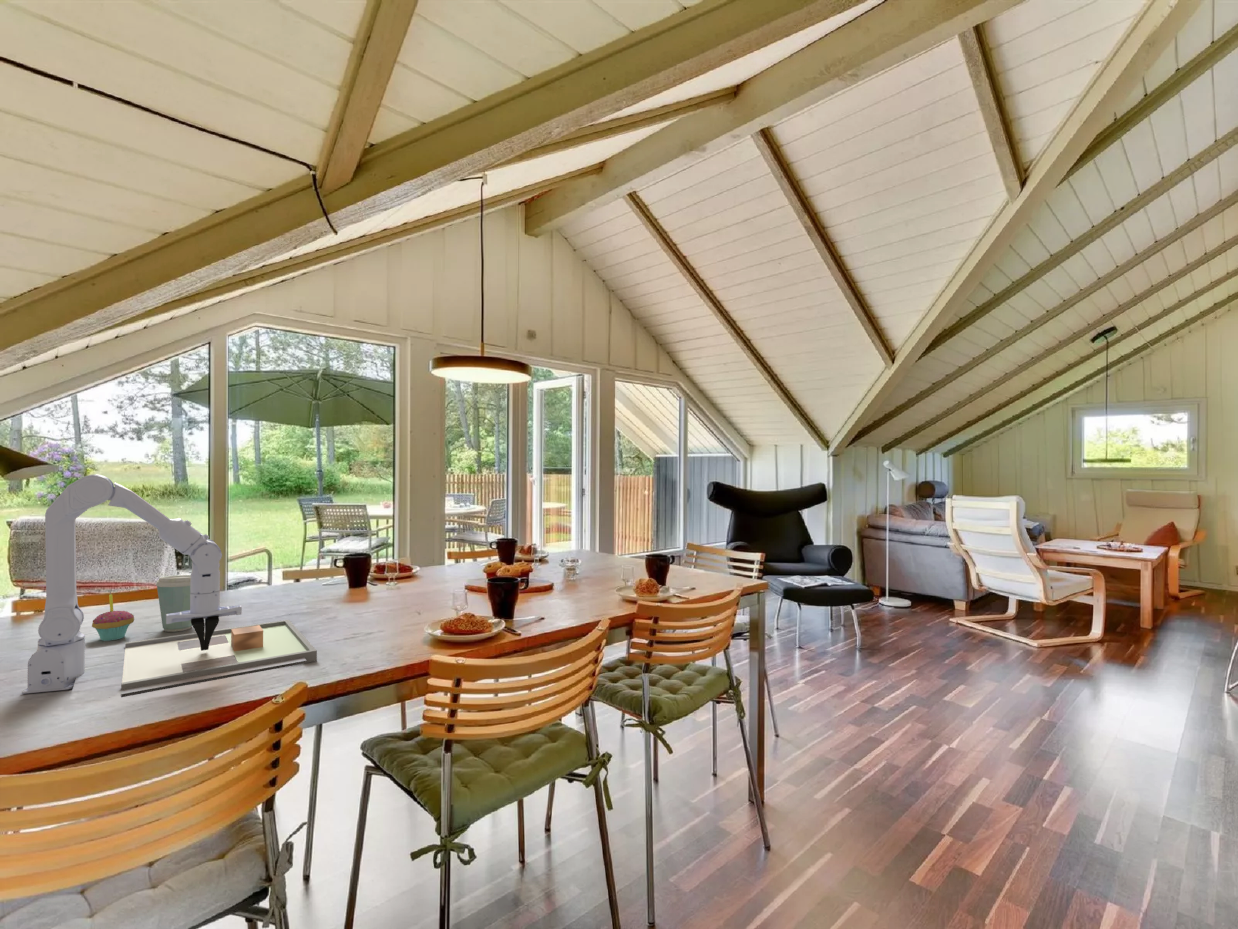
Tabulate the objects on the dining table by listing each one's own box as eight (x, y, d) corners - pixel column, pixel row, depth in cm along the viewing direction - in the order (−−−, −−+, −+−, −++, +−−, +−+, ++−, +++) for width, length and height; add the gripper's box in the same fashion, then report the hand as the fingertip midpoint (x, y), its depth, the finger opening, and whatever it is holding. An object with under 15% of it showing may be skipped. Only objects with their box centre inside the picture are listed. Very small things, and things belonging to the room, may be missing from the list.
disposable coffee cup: (163, 625, 167) (163, 572, 167) (207, 622, 171) (208, 570, 171) (148, 635, 157) (148, 579, 157) (196, 632, 161) (196, 577, 161)
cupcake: (85, 639, 153) (86, 593, 153) (124, 631, 161) (125, 587, 161) (101, 644, 149) (101, 597, 149) (140, 636, 157) (141, 591, 157)
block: (234, 651, 140) (234, 634, 140) (231, 645, 145) (231, 629, 145) (263, 646, 144) (263, 630, 144) (259, 641, 149) (259, 625, 149)
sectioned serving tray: (121, 697, 117) (121, 684, 117) (125, 652, 143) (125, 642, 143) (316, 661, 139) (316, 650, 139) (288, 628, 165) (288, 619, 165)
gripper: (239, 585, 147) (238, 639, 147) (166, 592, 138) (165, 650, 138) (243, 590, 141) (242, 646, 141) (166, 598, 132) (166, 658, 132)
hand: (204, 649), depth 139 cm, fingers closed
